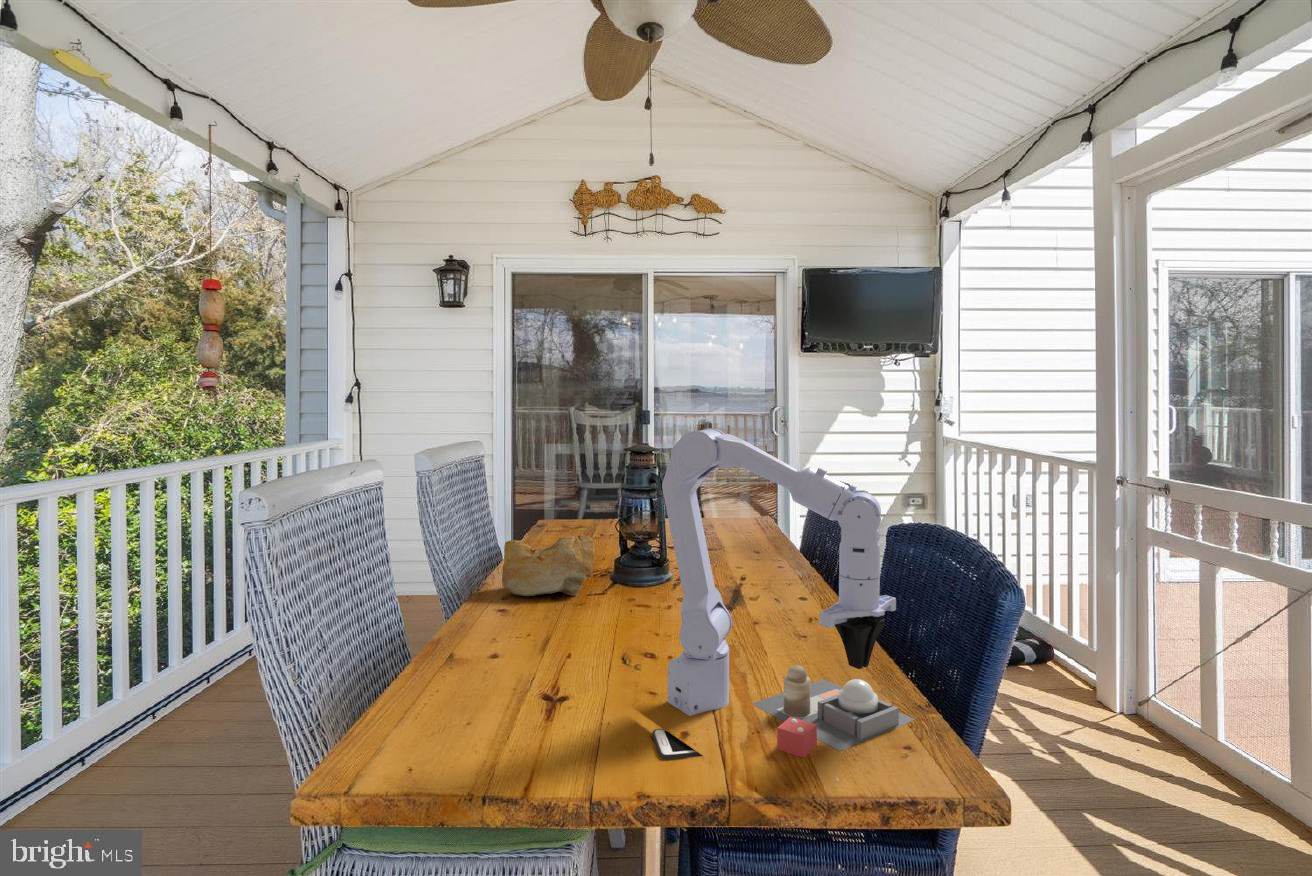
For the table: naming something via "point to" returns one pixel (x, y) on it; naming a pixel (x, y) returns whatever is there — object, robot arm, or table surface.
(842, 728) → the game board
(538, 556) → the rough brown rock
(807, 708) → the pawn
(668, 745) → the cell phone
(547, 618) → the table surface
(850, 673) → the table surface
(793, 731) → the red die
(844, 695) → the dome
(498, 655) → the table surface
